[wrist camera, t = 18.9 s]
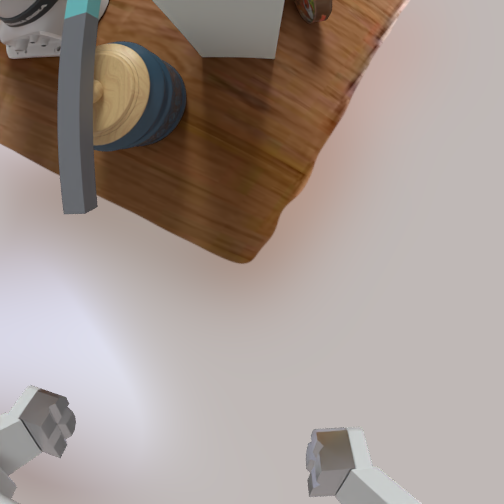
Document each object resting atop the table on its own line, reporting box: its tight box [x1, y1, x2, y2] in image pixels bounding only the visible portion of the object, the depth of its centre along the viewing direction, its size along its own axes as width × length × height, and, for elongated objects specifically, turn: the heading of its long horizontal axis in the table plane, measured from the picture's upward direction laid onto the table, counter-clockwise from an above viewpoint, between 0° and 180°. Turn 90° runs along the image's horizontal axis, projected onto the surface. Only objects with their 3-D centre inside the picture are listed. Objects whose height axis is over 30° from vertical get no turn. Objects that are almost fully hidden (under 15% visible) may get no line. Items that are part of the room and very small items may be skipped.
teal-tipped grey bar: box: [58, 0, 101, 214], centre depth 23 cm, size 2×23×2 cm, turn 179°
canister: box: [93, 41, 186, 151], centre depth 33 cm, size 13×13×18 cm
